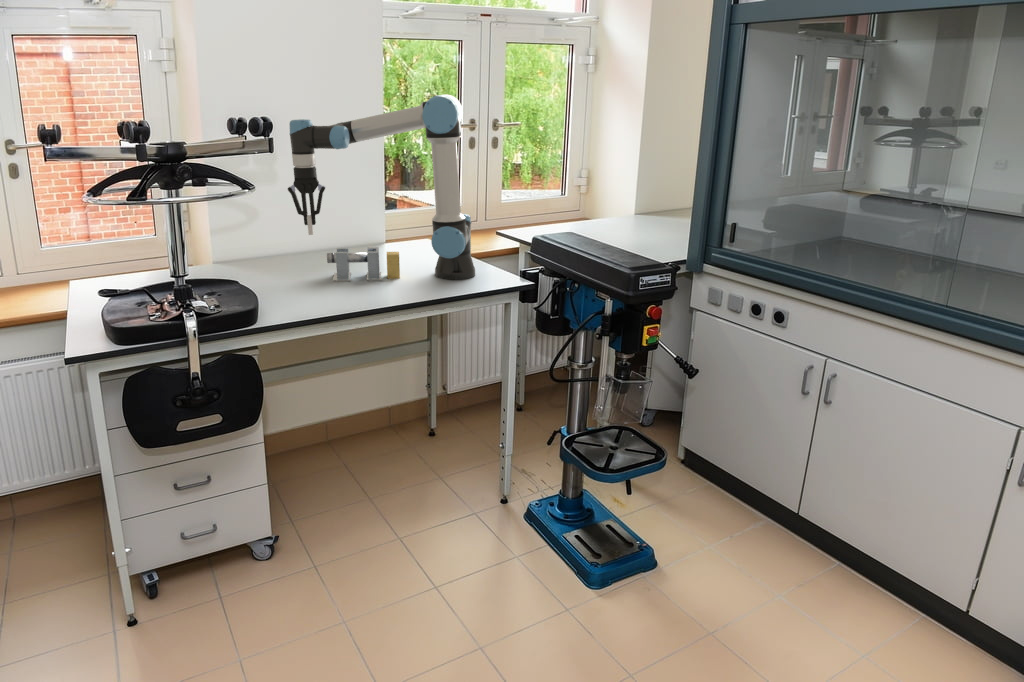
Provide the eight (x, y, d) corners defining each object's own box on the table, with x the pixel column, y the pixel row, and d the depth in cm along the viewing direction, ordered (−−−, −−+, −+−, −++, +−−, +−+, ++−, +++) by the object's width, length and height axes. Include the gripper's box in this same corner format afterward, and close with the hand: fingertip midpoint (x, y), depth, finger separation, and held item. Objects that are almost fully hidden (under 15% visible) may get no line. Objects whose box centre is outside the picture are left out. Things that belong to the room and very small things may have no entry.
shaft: (372, 260, 271) (372, 251, 269) (372, 263, 267) (372, 253, 266) (328, 261, 268) (327, 251, 267) (327, 264, 265) (326, 254, 263)
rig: (381, 273, 276) (380, 246, 272) (381, 280, 267) (379, 253, 263) (334, 274, 273) (332, 247, 270) (332, 281, 264) (331, 253, 260)
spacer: (399, 275, 274) (398, 251, 271) (399, 278, 270) (399, 254, 267) (387, 275, 274) (386, 251, 270) (387, 278, 269) (386, 254, 266)
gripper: (324, 164, 258) (330, 231, 266) (286, 165, 256) (293, 232, 264) (323, 167, 251) (329, 235, 259) (283, 168, 249) (290, 236, 257)
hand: (311, 233), depth 262 cm, fingers closed
